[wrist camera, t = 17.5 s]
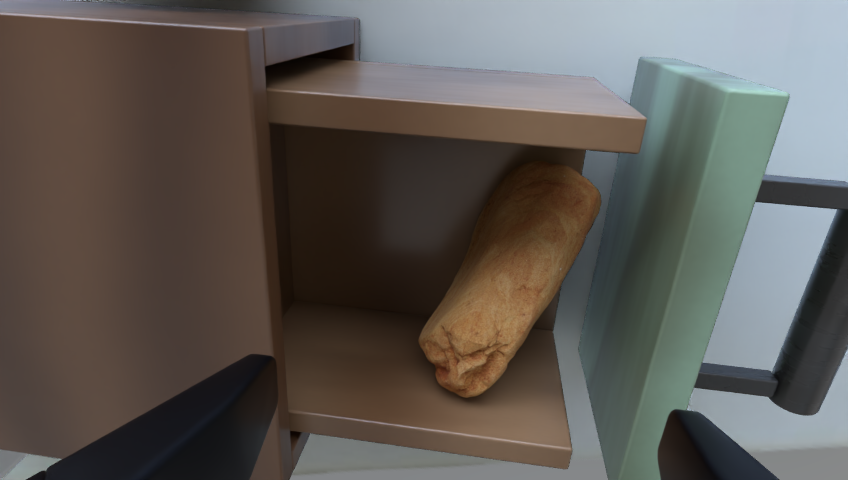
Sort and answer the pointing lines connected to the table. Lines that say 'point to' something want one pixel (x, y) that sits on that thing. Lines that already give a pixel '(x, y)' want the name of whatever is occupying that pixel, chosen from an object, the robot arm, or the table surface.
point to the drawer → (610, 292)
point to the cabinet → (139, 211)
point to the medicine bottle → (9, 461)
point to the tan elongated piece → (509, 273)
